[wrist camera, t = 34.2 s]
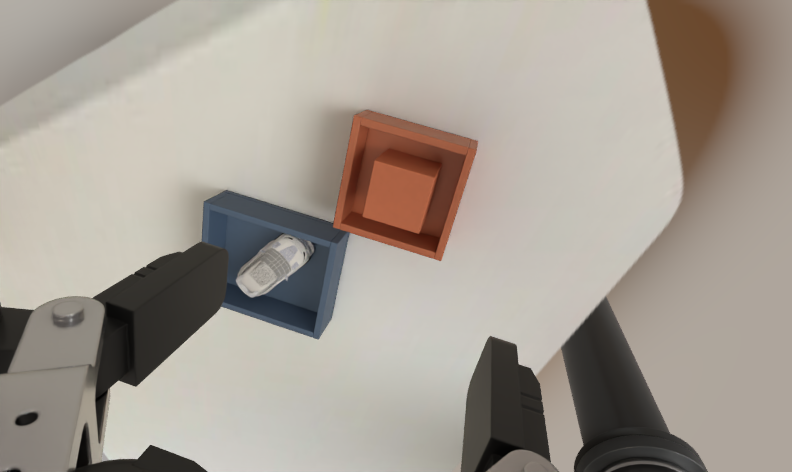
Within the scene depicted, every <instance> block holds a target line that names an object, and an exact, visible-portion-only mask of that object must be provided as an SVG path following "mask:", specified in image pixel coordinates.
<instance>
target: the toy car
mask: <svg viewBox="0 0 792 472" xmlns="http://www.w3.org/2000/svg"><path fill="white" fill-rule="evenodd" d="M313 252H314V247H313V245H312V243H311V242H310V241H307V240H304V239H301V238H297V237H294V236H291V235H288V234H285V233H282V234H280V235H279V236H278V237H277V238H276V239H275V240H272V241H271V242H269V243H268V244H267V245H266V246H265V247H263V248H262V249H261V250H259V252H258V254H257V255H256V256H254V257H253V258H251V259H250V260H249V261H248V262H246V263H245V264H244V265H243V266H242V267H241V269H240V271H239V273H238V277H237V279H236V282H237V284H238V286H239V288H240V289H241V290H242V291H243V292H244V293H245V294H246V295H248V296H249V297H252V298H253V297H255V296H260V295H263V294H266V293H268V292H269V291H271V290H272V289H273V288H274V287H275V286H276V285H277V284H279V283H280V282H281V281H283V280H284V279H286V281H287V280H288V277H289V276H290V275H292V274H293V273H294V272H296V271H297V270H298V269H299V268H301V267H303V266H304V265H305V264H306V263H308V262H309V261H310V259H311V258H310V256H311V255H312V254H313Z"/></svg>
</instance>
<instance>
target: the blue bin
mask: <svg viewBox="0 0 792 472" xmlns="http://www.w3.org/2000/svg"><path fill="white" fill-rule="evenodd" d="M282 233H285V234H288V235H291V236H294V237H297V238H301V239H304V240H307V241H310V242H311V243H312V245H313V247H314V252H313V254H312V255H311V256H310V258H311V259H310V261H309V262H308V263H306V264H305V265H304V266H303V267H301V268H299V269H298V270H297V271H296V272H294V273H293V274H292V275H290V276H289V277H288V280H287V281H286V279H284V280H283V281H281V282H280V283H279V284H277V285H276V286H275V287H274V288H273V289H272V290H271V291H269V292H268V293H266V294H263V295H260V296H255V297H253V298H252V297H249V296H248V295H246V294H245V293H244V292H243V291H242V290H241V289H240V288H239V286H238V284H237V282H236V279H237V277H238V273H239V271H240V269H241V267H242V266H243V265H244V264H245V263H246V262H248V261H249V260H250V259H251V258H253V257H254V256H256V255H257V254H258V252H259V250H261V249H262V248H263V247H265V246H266V245H267V244H268V243H269V242H271V241H272V240H275V239H276V238H277V237H278V236H279V235H280V234H282ZM348 237H349V232H346V231H343V230H340V229H337V228H334V227H333V223H330V222H327V221H324V220H320V219H317V218H314V217H311V216H307V215H304V214H301V213H298V212H295V211H291V210H288V209H285V208H282V207H279V206H275V205H272V204H269V203H266V202H263V201H259V200H256V199H253V198H250V197H246V196H243V195H240V194H237V193H234V192H230V191H227V190H226V191H224V192H222V193H220V194H218V195H216V196H214V197H212V198H210V199H208V200H206V201H204V207H203V228H202V242H205V243H208V244H212V245H215V246H218V247H221V248H224V249H226V250H227V251H228V253H229V261H228V273H227V286H226V295H225V299H224V301H223V304H222V305H221V307H224V308H227V309H230V310H233V311H236V312H239V313H242V314H245V315H248V316H251V317H254V318H257V319H260V320H262V321H265V322H268V323H271V324H274V325H277V326H280V327H283V328H286V329H289V330H292V331H295V332H298V333H301V334H304V335H307V336H310V337H313V338H315V339H319V338H320V336H321V335H322V333H323V331H324V330H325V328H326V327H327V325H328V323H329V322H330V320H331V318H332V313H333V308H334V304H335V299H336V294H337V289H338V285H339V280H340V275H341V270H342V266H343V261H344V256H345V251H346V247H347V242H348Z"/></svg>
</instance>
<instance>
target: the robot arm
mask: <svg viewBox="0 0 792 472" xmlns="http://www.w3.org/2000/svg"><path fill="white" fill-rule="evenodd" d="M228 261H229V253H228V251H227V250H226V249H224V248H221V247H218V246H215V245H212V244H208V243H205V242H199V243H198V244H196V245H194V246H193V247H191V248H190V249H188V250H186V251H185V252H183V253H182V252H176V253H173V254H169V255H166V256H162V257H160V258H158V259H156V260H155V261H153V262H151V263H150V264H148V265H147V266H146V268H145V267H143V268H141V269H140V270H138V271H136V272H135V274H134V275H133V274H131V275H130V276H128V277H126V278H125V279H123V280H121V281H120V282H118V283H116V284H115V285H113V286H111V287H110V288H108V289H106V290H105V291H103V292H102V293H100V294H98V295H97V296H95V297H93V298H88V297H80V296H73V297H64V298H59V299H55V300H52V301H49V302H47V303H45V304H43V305H41V306H39V307H38V308H37V309H35V310H26V309H16V308H5V307H1V304H0V472H207V471H206V470H205V469H203V468H202V467H201V466H200V465H198V464H197V463H196V462H194V461H192V460H189V459H187V458H184V457H181V456H179V455H176V454H174V453H171V452H168V451H166V450H163V449H160V448H158V447H155V446H152V445H150V446H149V447H148V448H147V449H146V450H145V451H144V453H143V454H142V455H141V456H140V457H139V458H138V459H118V460H110V461H103V462H102V453H103V445H104V438H105V431H106V423H107V416H108V409H109V401H110V387H111V386H112V385H114V384H115V383H116V382H117V381H118V380H119V381H122V382H124V383H127V384H130V385H133V386H135V387H136V386H137V385H138V384H140V383H141V382H142V381H143V380H144V379H145V378H146V377H147V376H148V375H149V374H150V373H151V372H153V371H154V370H155V369H156V368H157V367H158V366H159V365H160V364H161V363H162V362H163V361H164V360H166V359H167V358H168V357H169V356H170V355H171V354H172V353H173V352H174V351H175V350H176V349H177V348H179V347H180V346H181V345H182V344H183V343H184V342H185V341H186V340H187V339H188V338H189V337H191V336H192V335H193V334H194V333H195V332H196V331H197V330H198V329H199V328H200V327H201V326H202V325H204V324H205V323H206V322H207V321H208V320H209V319H210V318H211V317H212V316H213V315H214V314H215V313H216V312H217V311H218V310H219V309H220V307H221V305H222V304H223V301H224V299H225V295H226V286H227V273H228ZM541 400H542V396H541V389H540V383H539V382H538V380H537V378H536V377H535V375H534V373H533V372H532V370H531V368H528V367H525V366H522V365H519V364H518V355H517V346H516V344H513V343H510V342H507V341H504V340H501V339H498V338H495V337H492V336H490V337H489V338H488V340H487V342H486V344H485V347H484V349H483V351H482V354H481V356H480V359H479V361H478V364H477V366H476V368H475V371H474V373H473V376H472V378H471V381H470V385H469V389H468V394H467V401H466V414H465V426H464V439H463V451H462V464H461V472H559V471H558V470H557V469H556V468H555V467H554V465H553V464H551V461H550V453H549V446H548V439H547V432H546V426H545V418H544V415H543V412H544V410H543V404H542V402H541ZM600 472H687V471H686V470H684V469H683V468H681V467H679V466H677V465H675V464H673V463H671V462H668V461H665V460H661V459H656V458H647V457H638V458H629V459H624V460H620V461H617V462H614V463H612V464H610V465H608V466H607V467H605V468H604V469H602V470H601V471H600Z"/></svg>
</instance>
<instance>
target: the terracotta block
mask: <svg viewBox="0 0 792 472" xmlns="http://www.w3.org/2000/svg"><path fill="white" fill-rule="evenodd" d="M441 165H442V164H441V163H438V162H435V161H431V160H428V159H424V158H421V157H417V156H414V155H410V154H407V153H403V152H400V151H396V150H393V149H390V148H388V149H387V150H386V151H385V152H384V153H383V154H381V155H380V156H379V157H378V158H377V159H376V160H375V161H374V165H373V169H372V174H371V178H370V183H369V188H368V192H367V197H366V201H365V206H364V210H363V215H362V216H363V217H365V218H369V219H372V220H375V221H378V222H382V223H385V224H388V225H391V226H395V227H398V228H401V229H404V230H408V231H411V232H414V233H418V234H419V233H420V230H421V228H422V226H423V223H424V221H425V218H426V216H427V214H428V210H429V207H430V203H431V200H432V196H433V193H434V189H435V186H436V183H437V179H438V176H439V172H440V169H441Z"/></svg>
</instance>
